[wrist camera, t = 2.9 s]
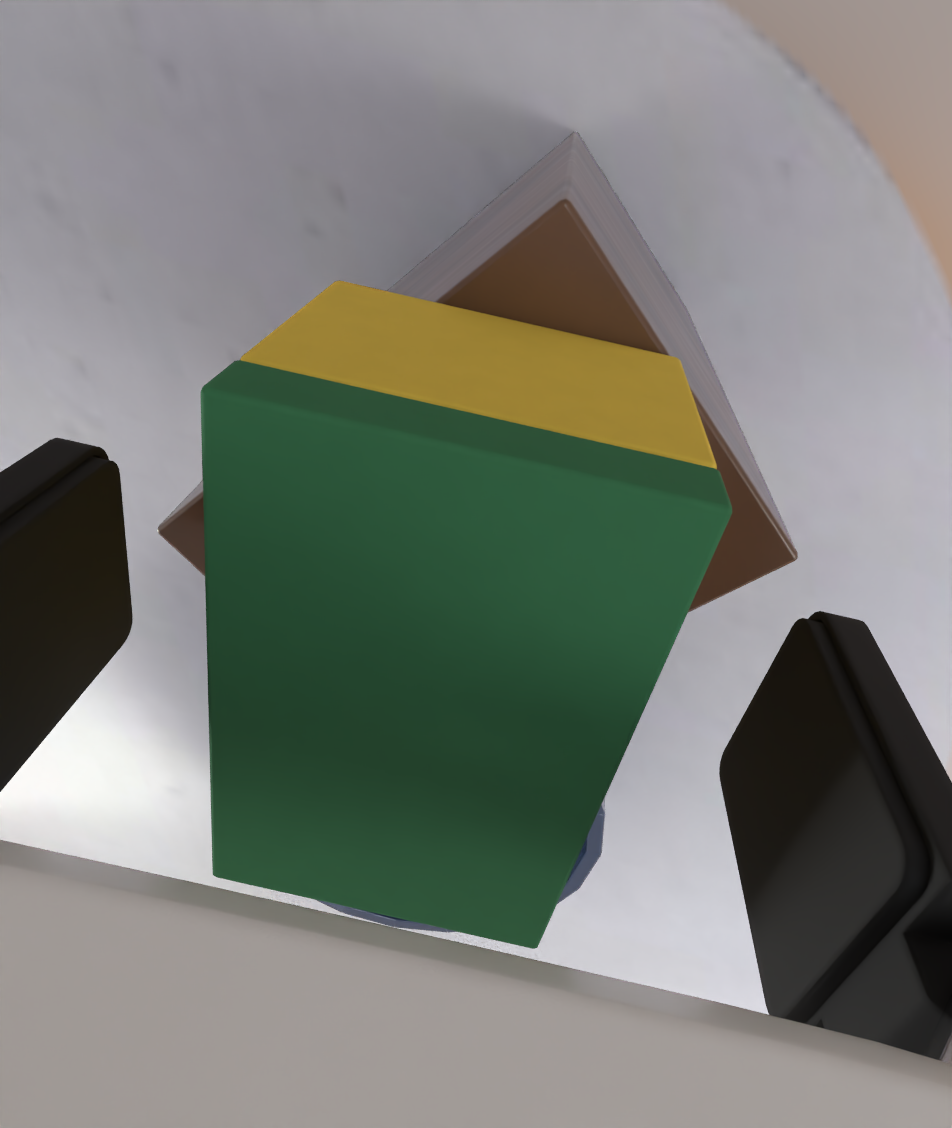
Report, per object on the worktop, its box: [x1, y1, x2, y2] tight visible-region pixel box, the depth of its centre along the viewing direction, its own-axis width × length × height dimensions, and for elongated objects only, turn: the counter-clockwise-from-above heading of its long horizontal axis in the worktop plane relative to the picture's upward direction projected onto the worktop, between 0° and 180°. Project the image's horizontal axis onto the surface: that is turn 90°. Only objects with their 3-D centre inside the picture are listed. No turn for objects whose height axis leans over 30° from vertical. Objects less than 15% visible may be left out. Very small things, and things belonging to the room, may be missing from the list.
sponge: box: [201, 281, 732, 948], centre depth 10 cm, size 7×4×4 cm, turn 170°
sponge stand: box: [157, 132, 798, 612], centre depth 17 cm, size 8×6×14 cm
